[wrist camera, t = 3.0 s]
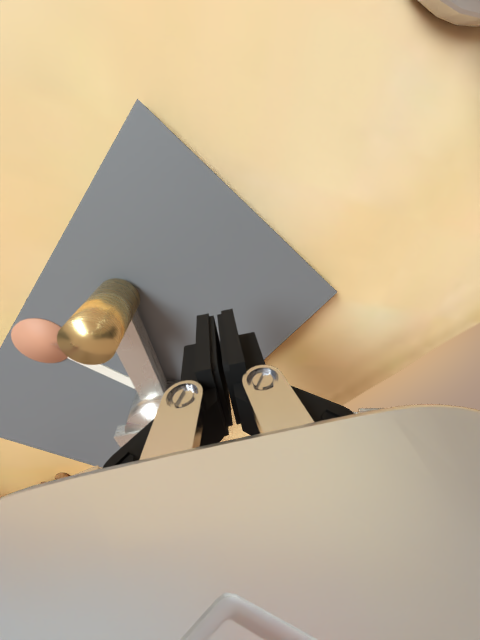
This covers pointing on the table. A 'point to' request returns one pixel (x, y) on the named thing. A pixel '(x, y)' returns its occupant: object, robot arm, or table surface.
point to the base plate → (145, 288)
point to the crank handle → (118, 348)
